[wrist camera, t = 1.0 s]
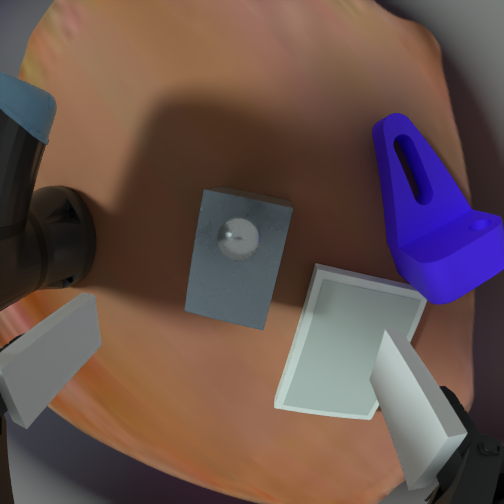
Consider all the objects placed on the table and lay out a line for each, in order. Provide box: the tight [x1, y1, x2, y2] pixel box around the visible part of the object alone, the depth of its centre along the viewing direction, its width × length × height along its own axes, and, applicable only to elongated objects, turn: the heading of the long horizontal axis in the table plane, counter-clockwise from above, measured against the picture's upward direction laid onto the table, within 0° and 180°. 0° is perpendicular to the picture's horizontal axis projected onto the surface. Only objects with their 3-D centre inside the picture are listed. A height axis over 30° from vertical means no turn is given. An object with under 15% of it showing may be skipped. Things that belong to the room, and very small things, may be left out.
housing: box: [184, 186, 293, 330], centre depth 32 cm, size 8×13×10 cm, turn 168°
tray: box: [274, 263, 427, 420], centre depth 37 cm, size 15×21×3 cm
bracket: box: [372, 113, 504, 304], centre depth 27 cm, size 18×11×12 cm, turn 27°
